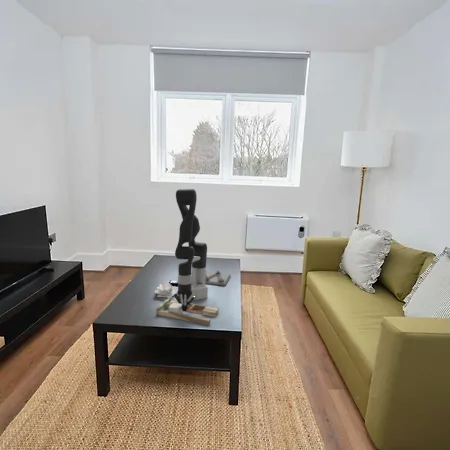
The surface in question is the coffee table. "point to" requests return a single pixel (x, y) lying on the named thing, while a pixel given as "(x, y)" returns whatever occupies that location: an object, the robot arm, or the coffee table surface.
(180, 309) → the cream block
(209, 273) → the grey board with linkage
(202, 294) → the supplement box
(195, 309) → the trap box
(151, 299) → the coffee table surface
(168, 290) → the lotus flower
